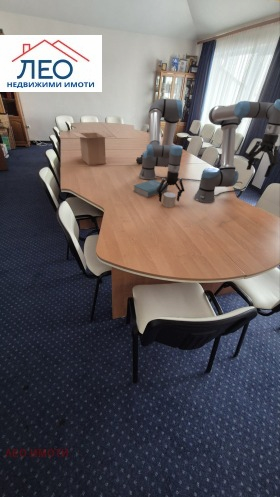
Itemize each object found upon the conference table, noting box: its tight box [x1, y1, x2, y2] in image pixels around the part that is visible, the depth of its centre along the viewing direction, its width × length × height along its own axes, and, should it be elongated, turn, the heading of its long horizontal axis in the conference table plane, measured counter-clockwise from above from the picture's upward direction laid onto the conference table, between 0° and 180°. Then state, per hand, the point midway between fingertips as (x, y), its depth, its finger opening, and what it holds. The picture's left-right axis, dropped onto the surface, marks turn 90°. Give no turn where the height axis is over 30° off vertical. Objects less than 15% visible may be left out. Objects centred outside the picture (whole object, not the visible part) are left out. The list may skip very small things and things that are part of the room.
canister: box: [162, 192, 177, 208], centre depth 158 cm, size 9×9×8 cm
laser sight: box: [135, 154, 143, 165], centre depth 237 cm, size 10×22×10 cm, turn 78°
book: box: [133, 179, 169, 198], centre depth 177 cm, size 23×16×5 cm
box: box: [70, 129, 114, 166], centre depth 229 cm, size 44×36×27 cm
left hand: (168, 201), depth 159 cm, fingers open, 13 cm apart
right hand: (256, 173), depth 132 cm, fingers open, 13 cm apart
